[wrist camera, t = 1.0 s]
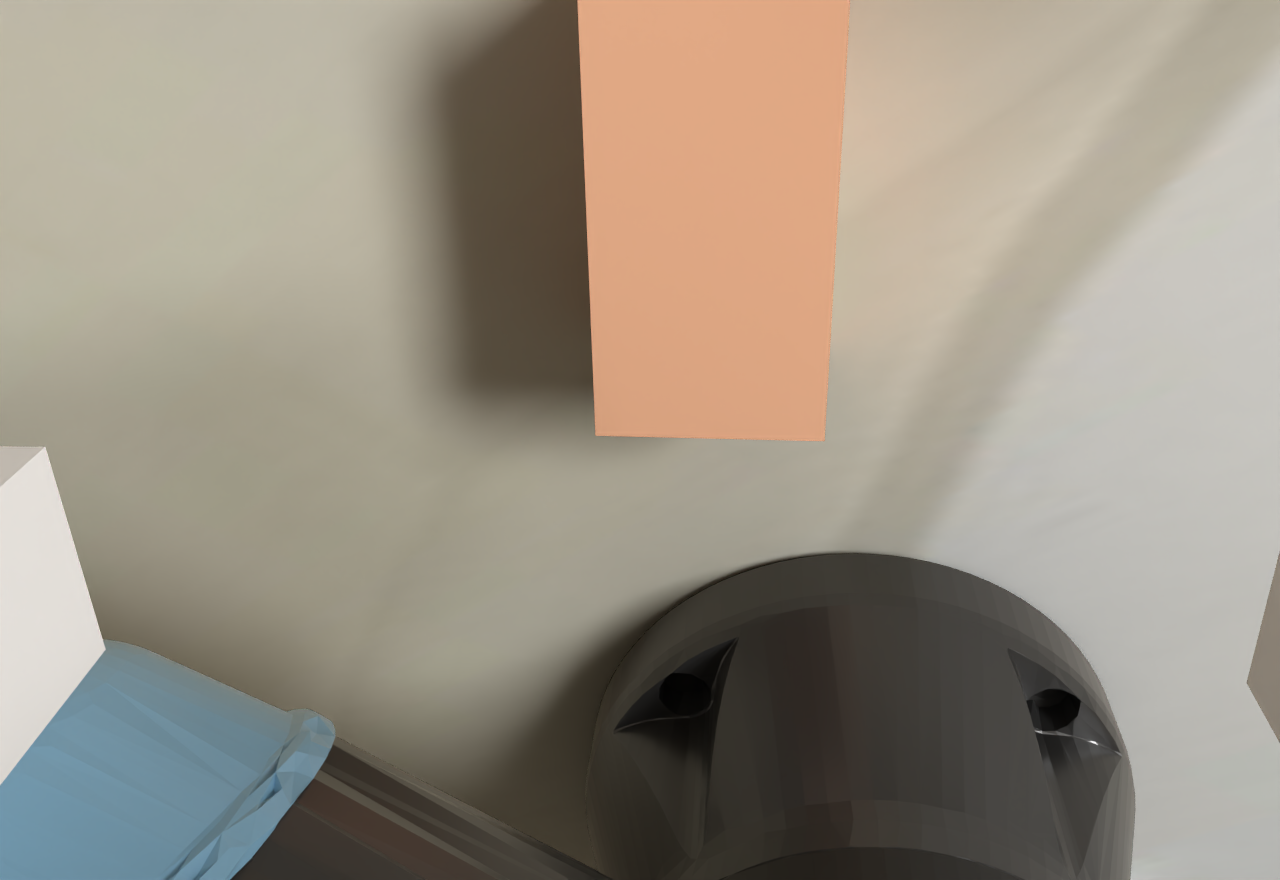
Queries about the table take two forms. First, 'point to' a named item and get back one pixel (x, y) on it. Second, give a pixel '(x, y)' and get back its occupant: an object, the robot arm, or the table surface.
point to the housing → (712, 212)
